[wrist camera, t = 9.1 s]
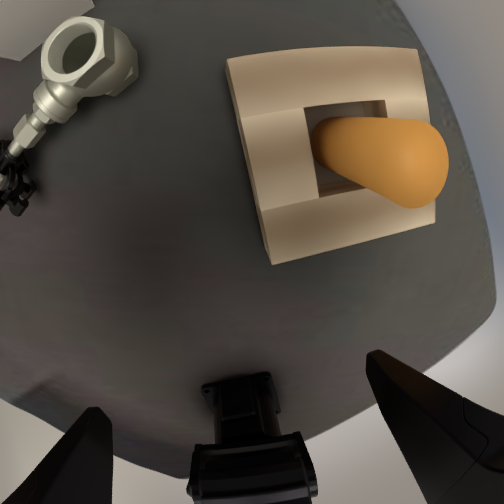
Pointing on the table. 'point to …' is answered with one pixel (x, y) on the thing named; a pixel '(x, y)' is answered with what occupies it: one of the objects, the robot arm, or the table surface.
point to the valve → (65, 92)
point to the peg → (384, 156)
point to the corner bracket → (33, 23)
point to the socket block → (299, 149)
